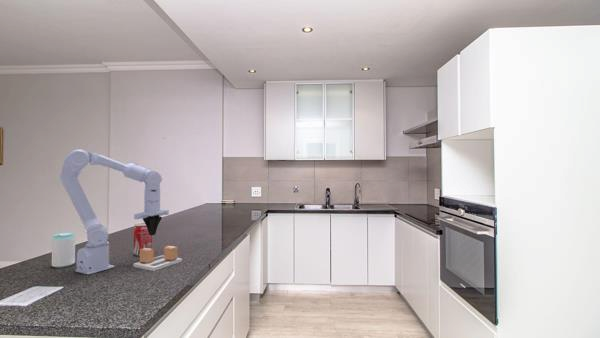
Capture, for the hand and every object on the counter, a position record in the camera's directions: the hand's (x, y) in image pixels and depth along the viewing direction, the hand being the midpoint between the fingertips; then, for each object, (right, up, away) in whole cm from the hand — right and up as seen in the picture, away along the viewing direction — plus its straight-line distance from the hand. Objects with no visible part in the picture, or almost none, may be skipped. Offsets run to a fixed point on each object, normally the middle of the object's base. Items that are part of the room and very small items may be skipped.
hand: (152, 234), depth 124 cm
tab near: (+9, -9, -3) cm, 13 cm away
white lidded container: (-31, -11, -6) cm, 33 cm away
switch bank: (+5, -10, -4) cm, 12 cm away
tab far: (+1, -9, -6) cm, 11 cm away
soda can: (-9, -11, +10) cm, 17 cm away
